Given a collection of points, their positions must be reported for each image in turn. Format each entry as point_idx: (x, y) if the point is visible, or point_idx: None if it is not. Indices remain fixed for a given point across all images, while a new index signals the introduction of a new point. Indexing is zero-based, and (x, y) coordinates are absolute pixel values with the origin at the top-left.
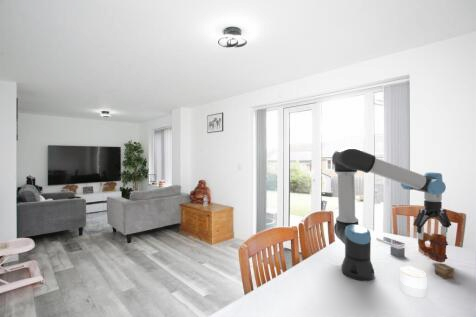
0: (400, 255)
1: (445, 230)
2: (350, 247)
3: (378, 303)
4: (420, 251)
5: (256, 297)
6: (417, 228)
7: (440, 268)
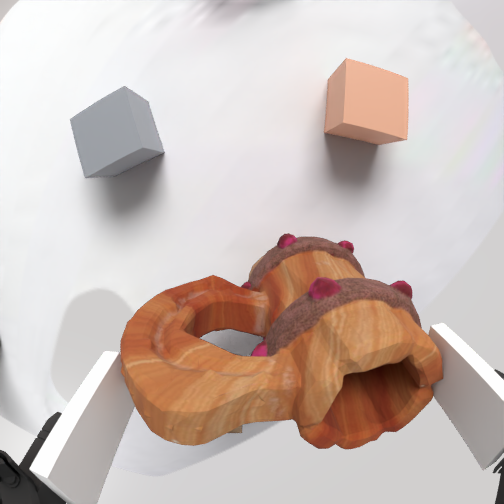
0: (126, 168)
1: (465, 441)
2: None
3: (15, 414)
4: (328, 96)
5: None
6: (32, 459)
7: None
